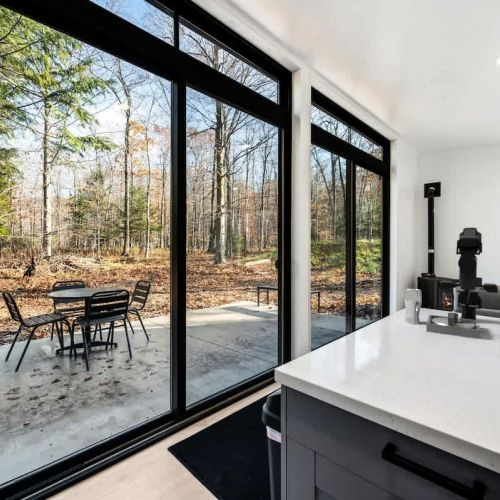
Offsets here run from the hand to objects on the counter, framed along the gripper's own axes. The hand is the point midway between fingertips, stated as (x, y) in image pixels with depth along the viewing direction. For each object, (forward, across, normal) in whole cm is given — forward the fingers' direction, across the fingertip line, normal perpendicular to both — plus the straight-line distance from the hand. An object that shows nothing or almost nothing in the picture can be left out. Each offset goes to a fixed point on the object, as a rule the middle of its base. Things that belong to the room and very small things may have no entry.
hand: (467, 308), depth 126 cm
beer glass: (+11, -20, +8) cm, 24 cm away
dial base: (+11, -5, +5) cm, 13 cm away
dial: (+9, -5, +4) cm, 11 cm away
